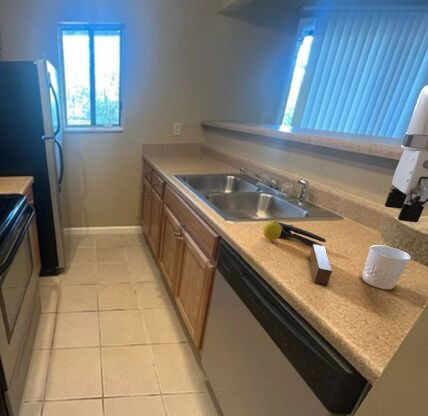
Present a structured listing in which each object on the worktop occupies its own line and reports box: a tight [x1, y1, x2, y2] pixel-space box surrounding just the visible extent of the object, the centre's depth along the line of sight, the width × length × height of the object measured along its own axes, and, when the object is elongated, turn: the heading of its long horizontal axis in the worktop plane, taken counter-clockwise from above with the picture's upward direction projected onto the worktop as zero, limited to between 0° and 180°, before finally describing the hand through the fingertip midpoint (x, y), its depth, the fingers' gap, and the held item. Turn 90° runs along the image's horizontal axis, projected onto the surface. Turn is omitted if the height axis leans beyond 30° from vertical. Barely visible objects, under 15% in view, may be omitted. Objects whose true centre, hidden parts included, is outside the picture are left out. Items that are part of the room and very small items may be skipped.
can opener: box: [276, 221, 327, 246], centre depth 102 cm, size 18×7×6 cm, turn 39°
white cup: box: [361, 244, 412, 290], centre depth 77 cm, size 8×8×10 cm
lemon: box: [263, 220, 281, 242], centre depth 101 cm, size 6×6×8 cm
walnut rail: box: [308, 244, 333, 287], centre depth 84 cm, size 3×16×5 cm, turn 149°
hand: (399, 213), depth 67 cm, fingers open, 9 cm apart
